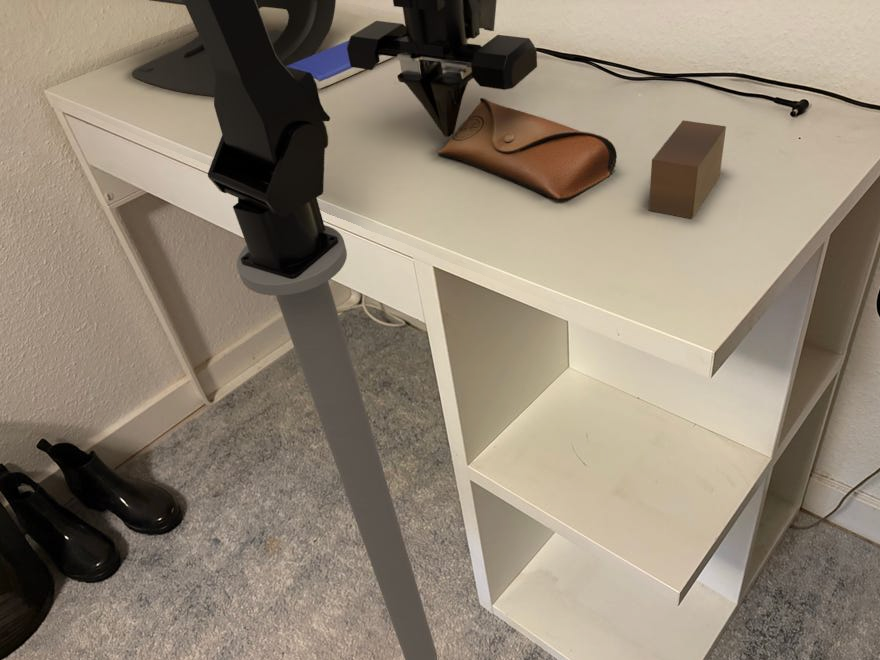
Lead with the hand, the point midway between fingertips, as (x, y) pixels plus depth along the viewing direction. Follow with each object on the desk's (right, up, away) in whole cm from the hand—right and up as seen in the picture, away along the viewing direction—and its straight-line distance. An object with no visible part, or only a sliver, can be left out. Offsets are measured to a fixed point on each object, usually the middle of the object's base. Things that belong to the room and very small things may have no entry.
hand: (449, 135), depth 78 cm
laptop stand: (-32, +20, +29) cm, 48 cm away
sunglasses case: (+8, -4, -2) cm, 9 cm away
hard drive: (-16, +16, +23) cm, 32 cm away
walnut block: (+22, -8, -10) cm, 26 cm away
